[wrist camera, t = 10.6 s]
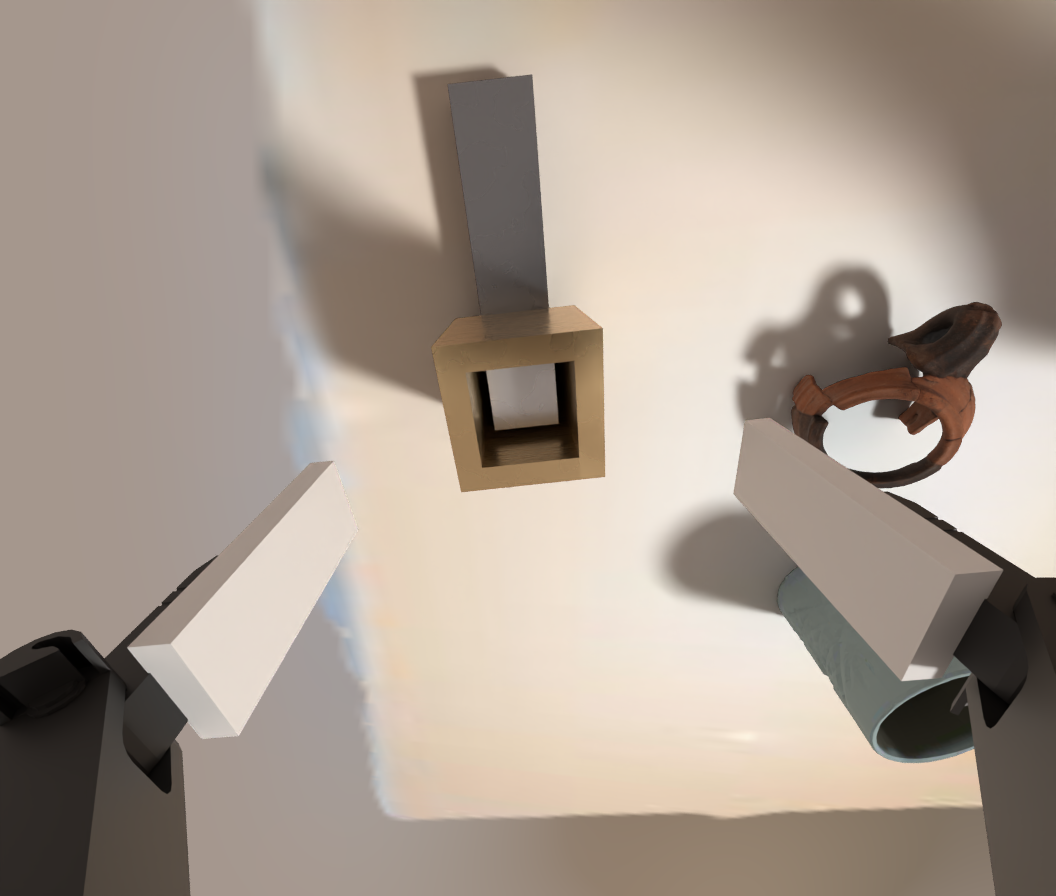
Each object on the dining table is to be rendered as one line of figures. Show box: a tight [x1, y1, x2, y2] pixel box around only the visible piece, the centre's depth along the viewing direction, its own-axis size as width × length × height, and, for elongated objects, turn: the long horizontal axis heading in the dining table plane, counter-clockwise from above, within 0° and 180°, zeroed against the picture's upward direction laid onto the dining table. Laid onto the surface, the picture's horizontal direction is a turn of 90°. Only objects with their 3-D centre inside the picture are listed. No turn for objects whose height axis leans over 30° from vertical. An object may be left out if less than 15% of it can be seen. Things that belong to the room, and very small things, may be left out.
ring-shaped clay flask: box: [791, 302, 1002, 488], centre depth 26 cm, size 12×10×8 cm
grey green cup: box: [777, 567, 974, 763], centre depth 32 cm, size 10×10×12 cm
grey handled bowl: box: [448, 75, 560, 430], centre depth 21 cm, size 8×18×7 cm, turn 6°
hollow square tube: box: [431, 305, 605, 492], centre depth 21 cm, size 7×7×8 cm
